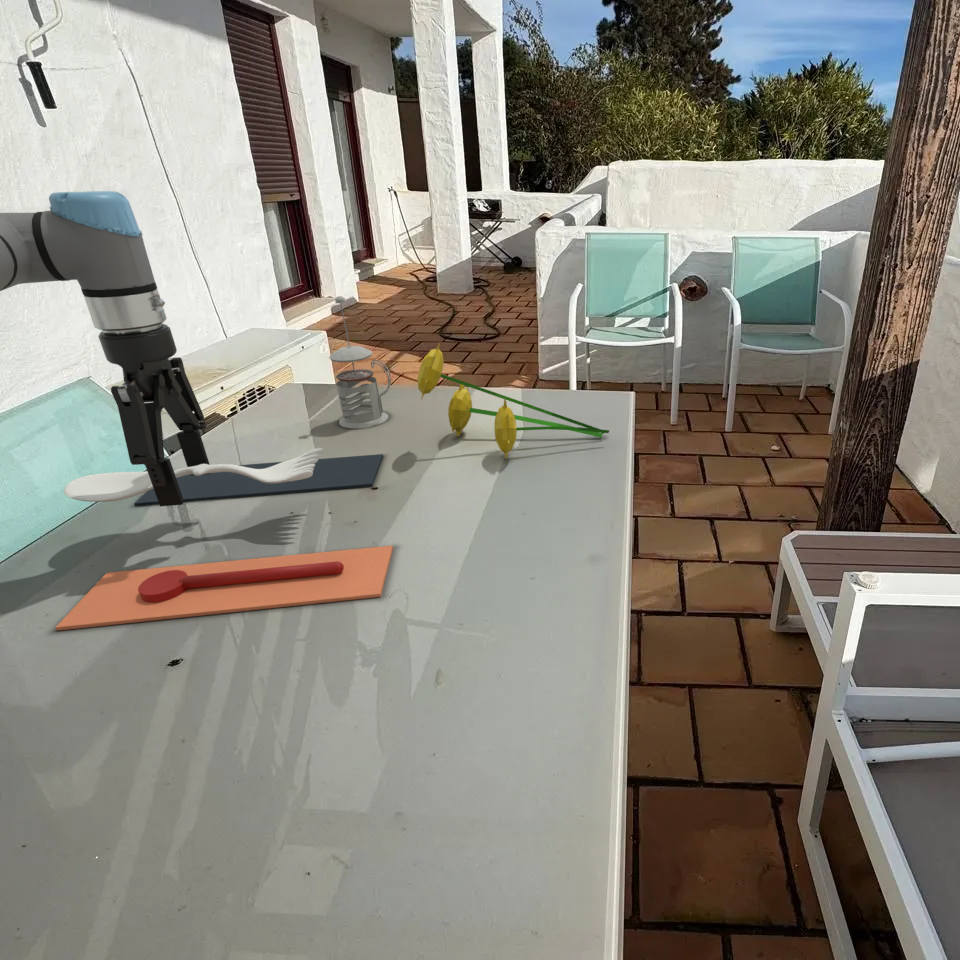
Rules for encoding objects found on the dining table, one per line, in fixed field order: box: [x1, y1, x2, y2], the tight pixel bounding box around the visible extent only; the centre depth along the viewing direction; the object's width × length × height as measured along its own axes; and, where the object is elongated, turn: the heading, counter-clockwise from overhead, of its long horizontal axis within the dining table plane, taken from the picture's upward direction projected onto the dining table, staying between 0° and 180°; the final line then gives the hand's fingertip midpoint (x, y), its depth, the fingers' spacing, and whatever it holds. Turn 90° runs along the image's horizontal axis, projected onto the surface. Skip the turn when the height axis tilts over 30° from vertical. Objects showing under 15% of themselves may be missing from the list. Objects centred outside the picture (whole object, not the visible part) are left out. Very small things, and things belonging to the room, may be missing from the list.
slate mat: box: [133, 453, 384, 507], centre depth 107 cm, size 36×12×1 cm, turn 99°
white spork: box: [63, 447, 325, 503], centre depth 89 cm, size 9×32×3 cm, turn 102°
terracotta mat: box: [55, 545, 394, 631], centre depth 80 cm, size 36×11×1 cm, turn 99°
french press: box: [328, 295, 392, 429], centre depth 126 cm, size 10×12×25 cm
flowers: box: [417, 342, 610, 461], centre depth 117 cm, size 16×22×35 cm
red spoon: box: [138, 561, 344, 603], centre depth 79 cm, size 24×5×2 cm, turn 99°
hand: (187, 488), depth 89 cm, fingers closed on white spork, 9 cm apart
